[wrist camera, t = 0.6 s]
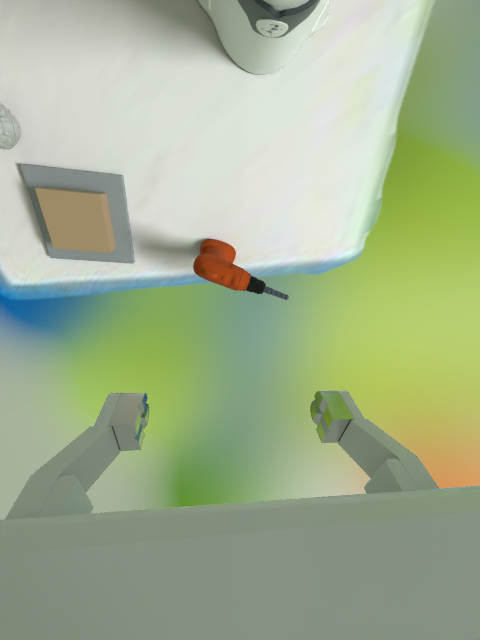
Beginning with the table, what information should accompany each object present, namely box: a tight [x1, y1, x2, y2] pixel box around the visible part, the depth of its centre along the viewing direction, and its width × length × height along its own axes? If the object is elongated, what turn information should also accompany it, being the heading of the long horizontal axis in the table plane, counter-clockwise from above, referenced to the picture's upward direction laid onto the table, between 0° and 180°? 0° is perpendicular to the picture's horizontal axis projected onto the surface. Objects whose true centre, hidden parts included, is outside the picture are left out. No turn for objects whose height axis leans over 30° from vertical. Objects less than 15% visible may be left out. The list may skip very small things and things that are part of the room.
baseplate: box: [20, 164, 135, 264], centre depth 44 cm, size 16×16×4 cm
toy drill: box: [193, 239, 288, 300], centre depth 46 cm, size 5×19×15 cm, turn 69°
